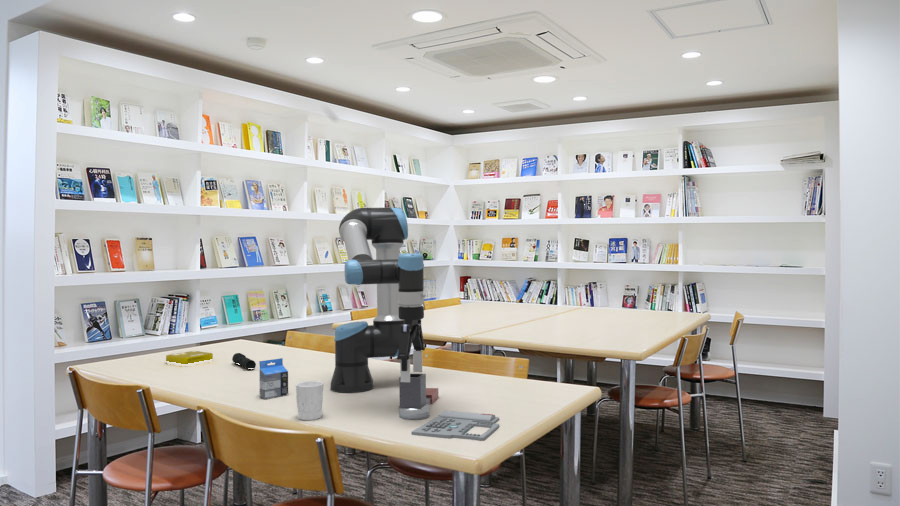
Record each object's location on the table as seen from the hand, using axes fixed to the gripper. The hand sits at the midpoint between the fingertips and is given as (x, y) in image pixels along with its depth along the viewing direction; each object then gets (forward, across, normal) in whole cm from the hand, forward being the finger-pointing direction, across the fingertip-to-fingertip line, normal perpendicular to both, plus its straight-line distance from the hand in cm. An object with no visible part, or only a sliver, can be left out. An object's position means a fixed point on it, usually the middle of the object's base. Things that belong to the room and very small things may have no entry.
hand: (411, 376), depth 189 cm
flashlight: (+14, +64, +92) cm, 114 cm away
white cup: (+12, -7, +29) cm, 32 cm away
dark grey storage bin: (+9, 0, 0) cm, 9 cm away
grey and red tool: (+12, +9, -1) cm, 15 cm away
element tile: (+14, +70, +122) cm, 141 cm away
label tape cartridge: (+12, +16, +53) cm, 57 cm away
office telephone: (+12, -9, -17) cm, 23 cm away
